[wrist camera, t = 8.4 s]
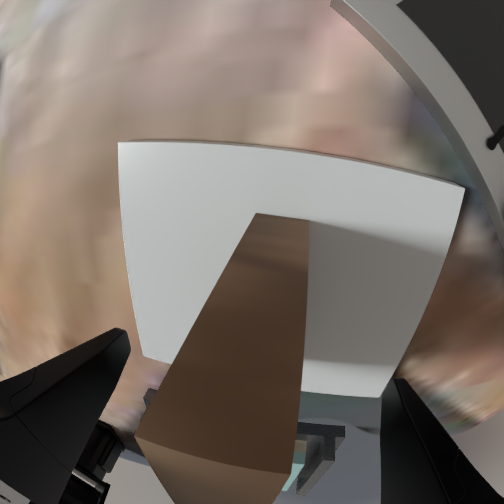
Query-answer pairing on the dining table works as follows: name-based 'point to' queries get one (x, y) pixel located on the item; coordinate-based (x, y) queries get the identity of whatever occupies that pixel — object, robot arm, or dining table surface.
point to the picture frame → (449, 75)
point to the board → (320, 246)
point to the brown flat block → (237, 377)
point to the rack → (317, 449)
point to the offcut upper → (295, 468)
